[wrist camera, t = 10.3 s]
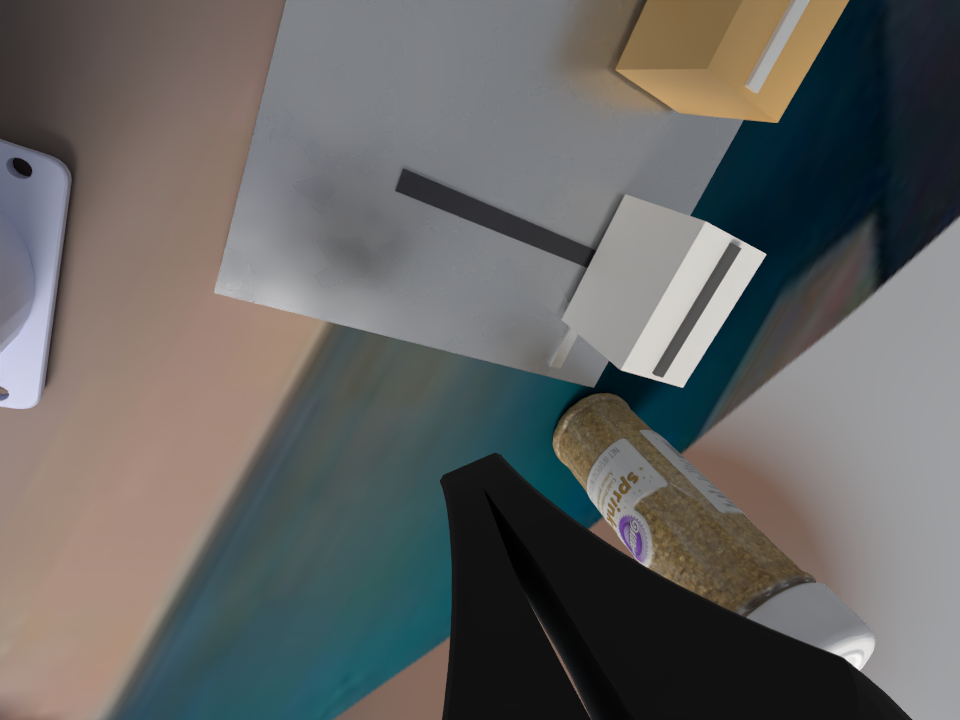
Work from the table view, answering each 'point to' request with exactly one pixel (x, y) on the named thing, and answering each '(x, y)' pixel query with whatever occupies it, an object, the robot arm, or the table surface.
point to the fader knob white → (659, 290)
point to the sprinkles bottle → (697, 529)
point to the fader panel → (454, 170)
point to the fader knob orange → (727, 53)
